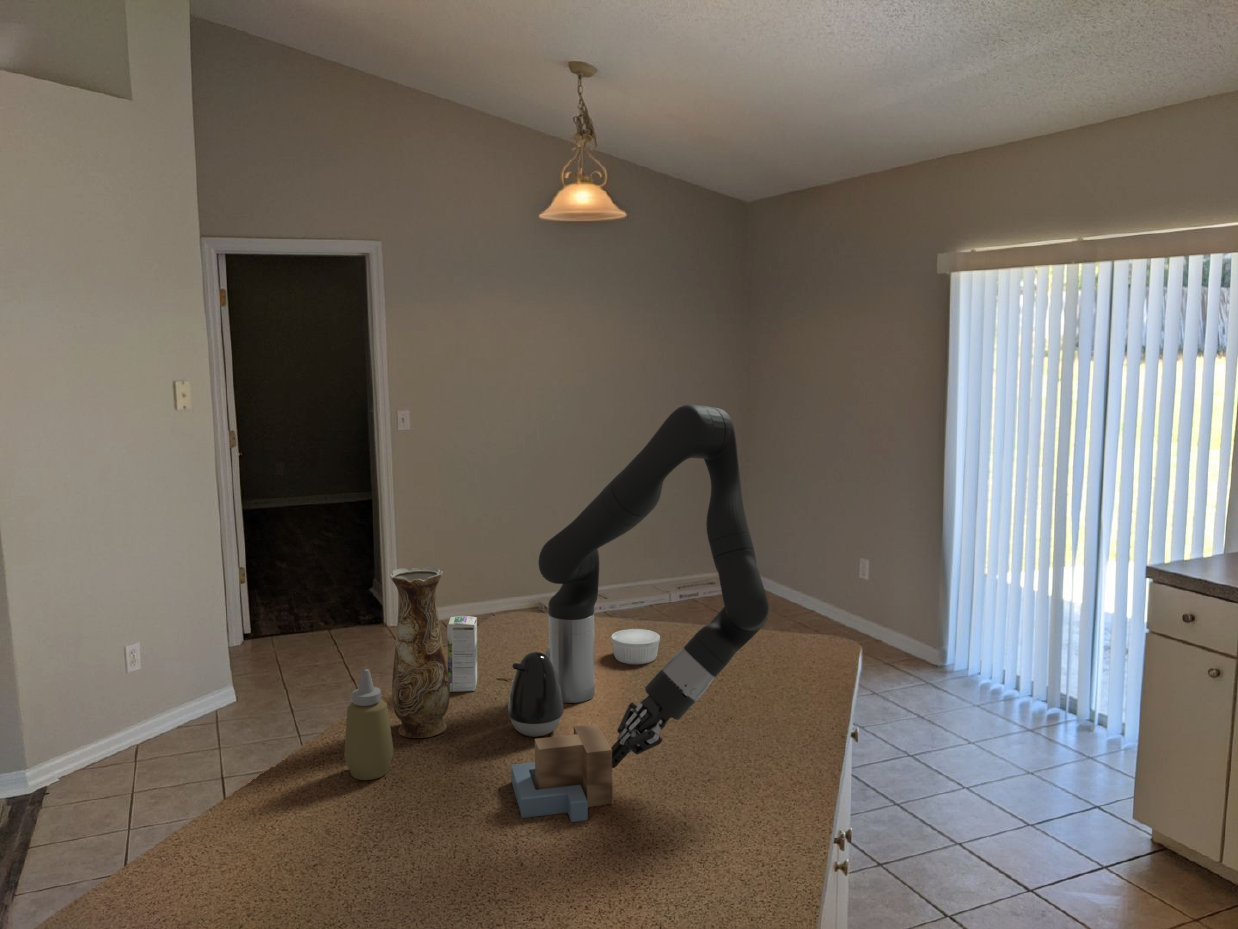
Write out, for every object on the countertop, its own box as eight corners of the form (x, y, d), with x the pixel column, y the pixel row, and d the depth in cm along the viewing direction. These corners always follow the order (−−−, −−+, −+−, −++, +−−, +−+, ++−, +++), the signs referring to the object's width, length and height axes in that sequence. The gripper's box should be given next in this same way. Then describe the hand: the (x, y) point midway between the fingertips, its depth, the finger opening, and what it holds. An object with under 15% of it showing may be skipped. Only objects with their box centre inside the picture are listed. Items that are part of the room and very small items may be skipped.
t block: (597, 775, 155) (597, 724, 154) (612, 804, 146) (612, 750, 145) (532, 783, 153) (531, 731, 151) (542, 813, 143) (542, 758, 142)
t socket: (565, 767, 158) (565, 750, 158) (587, 820, 141) (587, 801, 141) (509, 773, 156) (508, 756, 156) (524, 828, 139) (524, 809, 138)
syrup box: (450, 682, 197) (448, 616, 195) (478, 681, 198) (477, 615, 196) (447, 692, 192) (445, 624, 190) (476, 691, 192) (475, 623, 190)
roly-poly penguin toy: (496, 732, 173) (495, 653, 170) (538, 715, 180) (537, 639, 178) (533, 748, 166) (532, 666, 164) (575, 730, 173) (574, 651, 171)
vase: (399, 744, 167) (393, 582, 163) (388, 722, 177) (383, 568, 173) (456, 734, 171) (452, 576, 167) (443, 713, 181) (438, 563, 177)
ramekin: (614, 649, 219) (614, 627, 218) (662, 651, 217) (662, 629, 216) (607, 665, 208) (607, 642, 207) (657, 668, 206) (657, 645, 205)
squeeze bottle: (403, 766, 159) (400, 665, 156) (376, 788, 151) (372, 682, 149) (363, 759, 161) (359, 659, 159) (334, 780, 154) (330, 676, 151)
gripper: (653, 656, 157) (582, 733, 156) (677, 684, 144) (600, 768, 143) (682, 683, 159) (613, 759, 158) (709, 713, 146) (634, 796, 145)
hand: (607, 763), depth 150 cm, fingers closed
